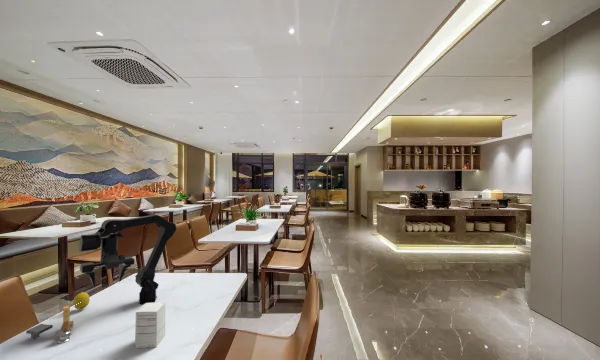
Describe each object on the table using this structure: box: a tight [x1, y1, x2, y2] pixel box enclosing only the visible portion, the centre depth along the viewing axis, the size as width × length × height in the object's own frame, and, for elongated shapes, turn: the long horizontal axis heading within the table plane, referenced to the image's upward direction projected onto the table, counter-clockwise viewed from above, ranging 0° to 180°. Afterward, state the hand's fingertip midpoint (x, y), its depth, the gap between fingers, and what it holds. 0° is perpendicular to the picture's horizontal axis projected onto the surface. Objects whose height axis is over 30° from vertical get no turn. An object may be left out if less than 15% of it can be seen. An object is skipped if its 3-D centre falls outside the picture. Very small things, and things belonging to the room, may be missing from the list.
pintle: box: [56, 329, 72, 345], centre depth 92 cm, size 4×4×3 cm
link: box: [59, 303, 74, 337], centre depth 97 cm, size 9×3×10 cm, turn 37°
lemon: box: [73, 291, 91, 311], centre depth 115 cm, size 6×6×8 cm
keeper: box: [25, 323, 53, 340], centre depth 94 cm, size 5×5×4 cm
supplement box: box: [134, 301, 167, 349], centre depth 92 cm, size 7×7×13 cm
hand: (107, 283), depth 112 cm, fingers open, 9 cm apart
